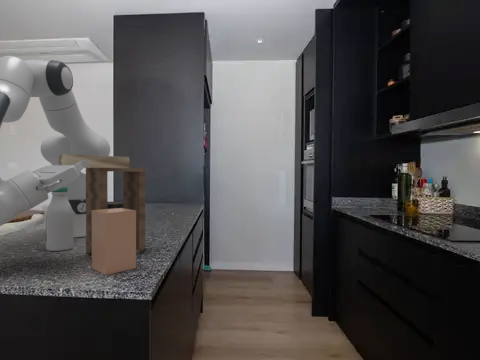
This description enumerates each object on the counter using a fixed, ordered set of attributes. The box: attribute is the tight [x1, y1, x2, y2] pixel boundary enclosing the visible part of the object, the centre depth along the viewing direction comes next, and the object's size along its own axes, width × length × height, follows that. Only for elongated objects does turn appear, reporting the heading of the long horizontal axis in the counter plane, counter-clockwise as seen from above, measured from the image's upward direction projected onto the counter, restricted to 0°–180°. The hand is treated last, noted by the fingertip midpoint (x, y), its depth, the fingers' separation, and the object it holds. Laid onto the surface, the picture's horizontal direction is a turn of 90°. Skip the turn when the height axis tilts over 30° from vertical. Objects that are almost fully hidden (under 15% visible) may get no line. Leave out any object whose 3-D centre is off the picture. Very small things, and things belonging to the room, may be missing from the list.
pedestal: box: [91, 208, 137, 276], centre depth 86 cm, size 8×8×15 cm
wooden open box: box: [85, 167, 146, 258], centre depth 102 cm, size 10×14×26 cm
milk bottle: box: [45, 187, 74, 252], centre depth 107 cm, size 8×8×20 cm
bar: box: [59, 154, 131, 169], centre depth 97 cm, size 4×19×4 cm, turn 137°
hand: (79, 162), depth 94 cm, fingers open, 8 cm apart
